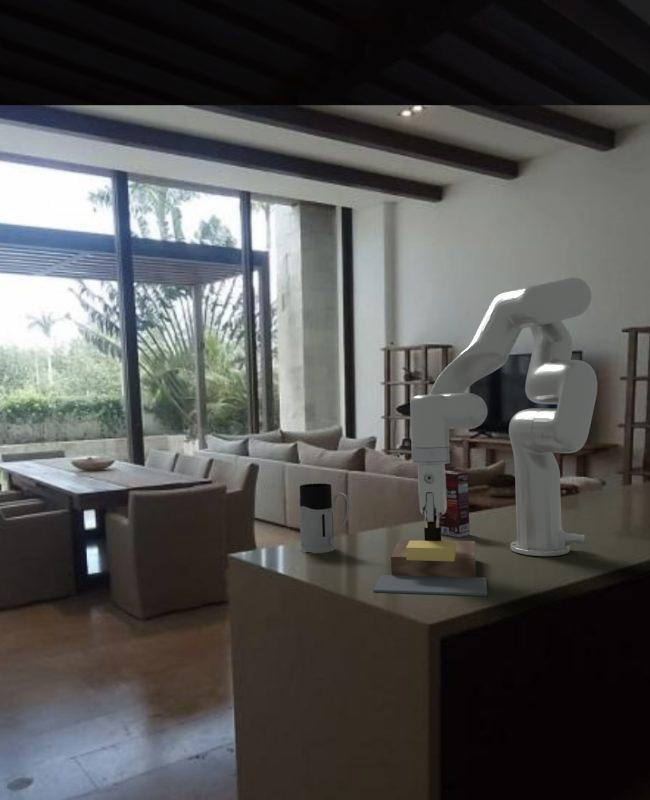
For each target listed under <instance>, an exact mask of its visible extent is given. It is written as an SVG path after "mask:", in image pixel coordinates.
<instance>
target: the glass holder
mask: <svg viewBox="0 0 650 800" xmlns="http://www.w3.org/2000/svg"><path fill="white" fill-rule="evenodd" d="M339 495H341V496H343V497H344V498H345V501H346V514H345V517H344V520H343V522H342V524H341V526H340V527H339V528H338V529H337V530H336V531H335V532H334V510H336V500H337V497H338V496H339ZM332 497H333V496H332V484H330V483H318V482H317V483H308V484H307V483H305V484H300V485H299V502H298V503H299V528H300V546H299V548H298V550H299V549H300V550H301V551H305V552H313V553H312V554H324V553H330V551H331V552H333V550H334V551H335V550H336V549H337V547H336V544H335V541H334V540H335V539H334V537H335V536H337V535H338V533H339V532H341V530H342V529H343V528H344V527H345V525H346V523H347V522H348V519H349V514H350V507H351V506H350V505H351V504H350V499H349V497H348V495H347V494H345V493H344V492H338V493H336V494H335V495H334V497H333V498H332ZM300 550H299V551H300ZM301 551H300V552H301ZM305 552H304V553H305Z"/></svg>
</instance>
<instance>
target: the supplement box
mask: <svg viewBox="0 0 650 800" xmlns="http://www.w3.org/2000/svg"><path fill="white" fill-rule="evenodd" d="M445 475H446V497H447V509H446V512H445V514H443V515H442V513H441V512H440V526H439V527H441V535H445V536H451V537H454V538H463V537H465V536H469V535H470V531H471V530H470V507H469V506H470V505H469V504H470V503H469V502H470V501H469V499H470V498H469V473H468V472H466V471H465V472H464V471H455V470H445Z"/></svg>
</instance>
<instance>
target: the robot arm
mask: <svg viewBox="0 0 650 800" xmlns="http://www.w3.org/2000/svg"><path fill="white" fill-rule="evenodd" d="M591 291H592V290H591V289H590V286H589V284H588V283H587V282H586V281H584V280H583V279H582V278H580V277H574V276H571V277H565V278H561V279H556V280H552V281H549V282H548V281H547V282H542V283H539V284H534V285H530V286H524V287H520V288H516V289H511V290H506V291H503V292H500V293H499V294H497V295H496V296H495V297H493V299H492V300H491V301H490V304H489V306H488V307H487V309H486V311H485V312H484V315H483V317H482V319H481V321H480V323H479V325H478V326H477V329H476V331H475V332H474V335H473V337H472V339H471V341H470V342H469V344H468V346H467V347H466V348H465V349H464V350H463V351H461V353H459V354H458V356H456V357H455V358H454V359H453V360H452V361H451V362H450V363H449V364H448V365H447V366H446V367H445V368H444V369H443V370H442V372H441V373H440V374H439V376H438V377H437V378H436V380H435V382H433V383H434V384H433V386H432V388H431V389H430V391H429V394H419V395H414V396H412V398H410V402H409V403H410V405H409V407H410V409H409V412H410V414H409V415H410V437H411V438H410V441H411V443H410V444H411V445H410V446H411V464H413V465H417V485H418V486H417V487H418V488H417V489H418V503H419V513H421V515H424V528H423V530H424V532H423V533H424V540H425V541H442V534H441V527H439V526H440V512H441V513H442V515H443V514H445V512H446V509H447V497H446V475H445V471H446V464H450V463H451V461H450V460H451V459H450V436H449V435H450V431H449V430H450V429H451V430H453V429H454V430H472V429H476V428H477V427H479V426H481V425H482V424H483V423H484V422H485V421H486V418H487V416H488V407H487V404H486V402H485V400H484V399H483V398H482V397H481V396H480V395H477V394H476V393H471V392H466V390H468V389H469V387H471V386H472V385H473V384H475V382H477V381H479V380H480V379H482V378H485V377H486V376H489V375H490V374H492V373H494V372H495V371H497V370H498V369H500V368H501V367H502V368H503V366H504V365H505V364H506V362H507V360H508V359H509V356H510V355H511V352H512V351H513V348H514V345H515V344H516V342H517V340H518V337H519V336H520V334H521V332H522V331H523V329H525V328H529V329H530V331H531V334H532V337H533V344H532V352H531V356H530V360H529V361H530V362H529V364H528V370H527V375H526V379H525V387H524V388H525V391H524V392H525V395H526V398H527V399H528V400H529V401H531V402H533V403H536V404H538V405H539V404H540V405H557V407H556V408H548V407H545V408H543V407H541V408H540V407H539V408H536V407H535V408H532V407H531V408H527V409H526V408H525V409H522V410H520V411H518V412H517V413H515V414H514V415H513V416H512V418H511V420H510V421H509V425H508V435H509V441H510V445H511V448H512V453H513V463H514V477H515V478H514V479H515V481H514V483H515V511H516V540H515V541H512V542H511V543H510V547H509V548H510V550H511V551H513V552H514V553H517V554H521V555H525V556H533V557H556V556H558V557H559V556H561V555H563V556H564V555H566V554H568V553H570V551H571V546H570V544H582V545H584V544H585V543H586V537H585V534H577V533H569V532H565V531H564V529H563V527H562V503H561V502H562V501H561V500H562V499H561V496H562V495H561V473H560V472H561V471H560V468H559V467H560V466H559V464H558V461H557V459H556V457H555V455H554V453H556V454H557V453H558V454H573V453H576V452H579V451H580V450H581V449H582V448H583V447H584V446H585V444H586V443H587V440H588V437H589V434H590V429H591V423H592V420H593V419H592V418H593V413H594V409H595V405H596V404H595V403H596V401H597V394H598V379H597V375H596V372H595V370H594V369H593V367H592V366H591V364H589V363H587V362H586V361H583V360H579V359H572V356H573V355H572V353H573V346H574V345H573V344H574V343H573V339H572V335H571V333H570V332H569V330H568V328H567V327H566V325H565V324H564V322H563V321H564V320H568V319H572V318H576V317H580V316H582V314H584V313H586V311H587V310H588V309H589V307H590V305H591V303H592V292H591Z"/></svg>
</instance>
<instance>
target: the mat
mask: <svg viewBox="0 0 650 800" xmlns="http://www.w3.org/2000/svg"><path fill="white" fill-rule="evenodd" d="M373 593H387V594H388V593H390V594H392V593H393V594H415V595H416V594H417V595H419V594H420V595H443V596H444V595H446V596H448V595H449V596H455V595H456V596H476V597H478V596H479V597H480V596H481V597H488V585H487V577H475V578H474V577H440V576H406V575H392V574H381V575H380V577H379V579H378V580H377V582H376V584H375V587H374V588H373Z"/></svg>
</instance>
